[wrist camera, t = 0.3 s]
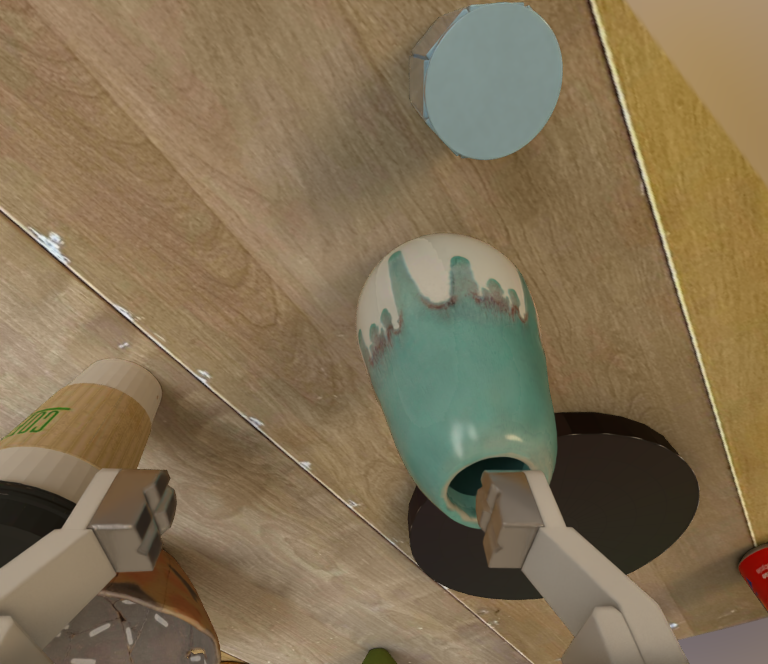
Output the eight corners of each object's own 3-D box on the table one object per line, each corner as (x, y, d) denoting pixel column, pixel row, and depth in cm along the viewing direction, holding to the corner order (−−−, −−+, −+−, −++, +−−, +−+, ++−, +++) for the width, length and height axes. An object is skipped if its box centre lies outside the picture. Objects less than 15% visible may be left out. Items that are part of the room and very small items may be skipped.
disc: (651, 562, 56) (665, 587, 53) (421, 588, 58) (423, 613, 55) (716, 389, 39) (740, 413, 37) (389, 432, 41) (391, 457, 38)
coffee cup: (38, 341, 34) (-153, 515, 21) (165, 338, 34) (50, 508, 22) (87, 430, 39) (-43, 610, 27) (196, 426, 40) (119, 603, 27)
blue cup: (463, -15, 23) (504, -39, 16) (530, 72, 25) (590, 83, 18) (388, 79, 25) (396, 92, 18) (455, 151, 27) (485, 186, 21)
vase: (433, 178, 28) (509, 331, 13) (542, 281, 33) (692, 482, 18) (325, 298, 33) (291, 512, 18) (434, 374, 37) (480, 595, 22)
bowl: (282, 547, 51) (266, 645, 43) (180, 624, 61) (151, 716, 52) (60, 455, 41) (-17, 559, 33) (-20, 565, 51) (-95, 667, 42)
